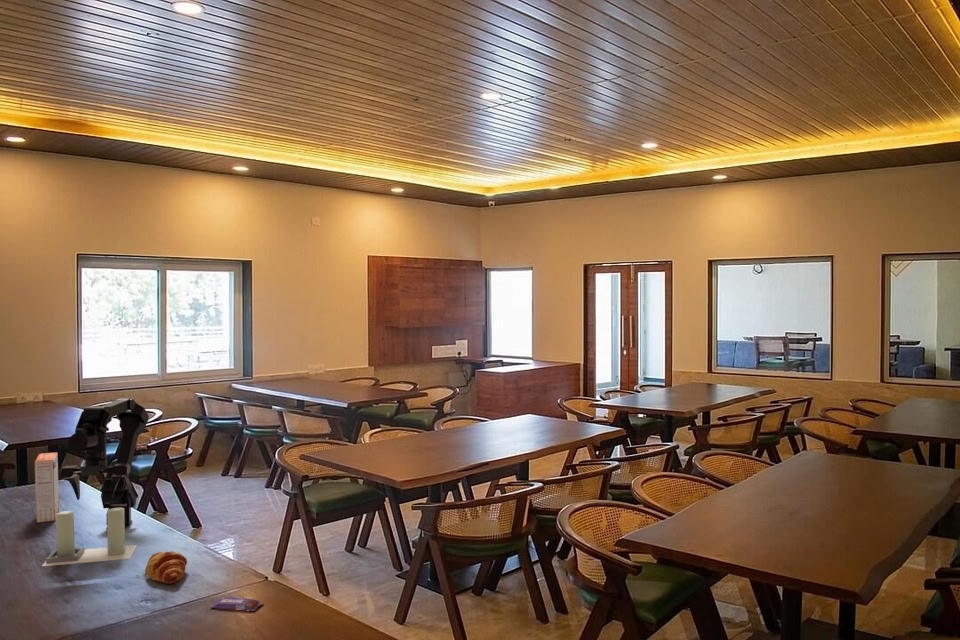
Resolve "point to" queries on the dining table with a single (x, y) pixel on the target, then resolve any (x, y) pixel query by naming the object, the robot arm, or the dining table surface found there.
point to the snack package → (237, 604)
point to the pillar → (65, 534)
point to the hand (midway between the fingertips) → (95, 498)
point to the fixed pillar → (115, 531)
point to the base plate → (87, 556)
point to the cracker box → (46, 487)
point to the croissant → (166, 567)
